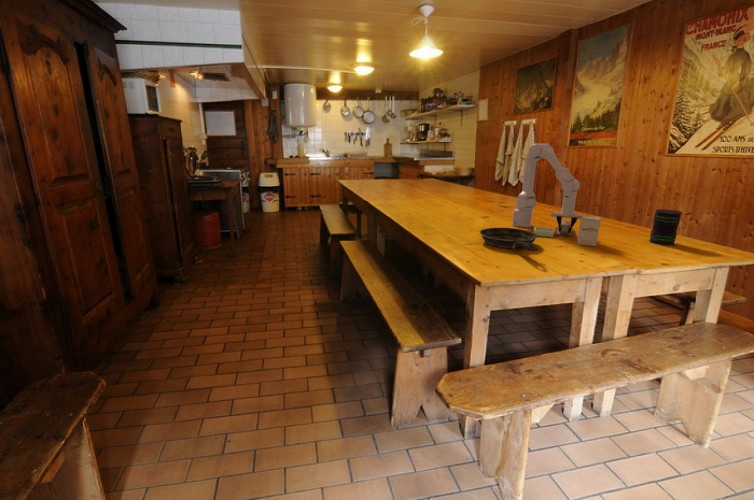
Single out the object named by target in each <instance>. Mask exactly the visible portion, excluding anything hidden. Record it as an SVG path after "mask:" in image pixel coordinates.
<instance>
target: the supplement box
mask: <svg viewBox="0 0 754 500" xmlns="http://www.w3.org/2000/svg"><path fill="white" fill-rule="evenodd" d="M601 220H602V219H601V217H600V216H596V215H595V216H594V215H584V214H581V219H580V223H579V227H578V228H579V229H578V235H577V241H576V242H577V243H578V245H579V246H589V247H597V244H598V237H599V232H600V227H601Z"/></svg>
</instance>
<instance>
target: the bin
mask: <svg viewBox="0 0 754 500" xmlns="http://www.w3.org/2000/svg"><path fill="white" fill-rule="evenodd" d="M532 232H533V233H535V234H537V236H538V237H543V238H549V239H550V238H552V239H553V237H554V233H555V227H554V228H552V227H544V226H534V227H533V231H532Z"/></svg>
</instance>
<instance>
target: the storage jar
mask: <svg viewBox="0 0 754 500" xmlns="http://www.w3.org/2000/svg"><path fill="white" fill-rule="evenodd" d="M681 216H682V212H681V211H678V210H674V209H672V210H671V209H655V213H654V216H653V220H652V221H653V224H652V229H651V230H650V235H649V243H650V244H653V243H654V245H659V246H665V245H667V246H668V245H672V246H674V245H675V242H676V239H677V235H678V227H679V224H680V221H681ZM667 246H666V247H667Z"/></svg>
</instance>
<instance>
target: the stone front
mask: <svg viewBox="0 0 754 500" xmlns="http://www.w3.org/2000/svg"><path fill="white" fill-rule="evenodd" d="M569 229H570V225H567V224H561V230H560V234H567V235H569Z"/></svg>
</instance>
